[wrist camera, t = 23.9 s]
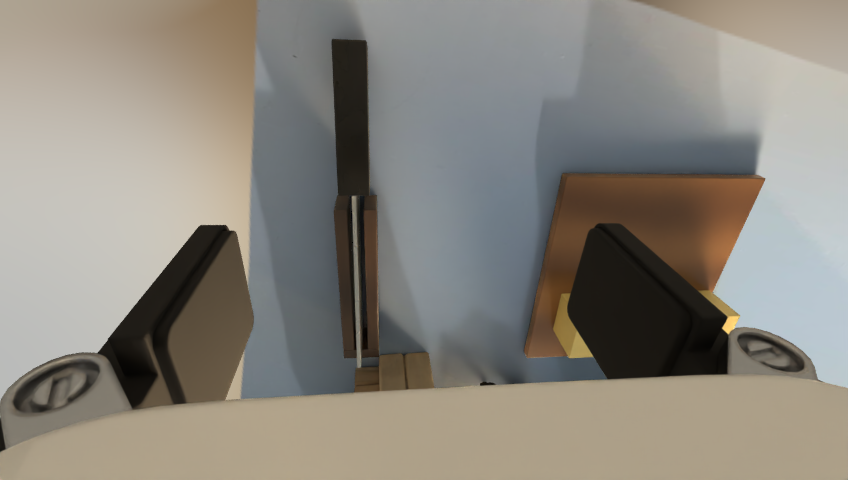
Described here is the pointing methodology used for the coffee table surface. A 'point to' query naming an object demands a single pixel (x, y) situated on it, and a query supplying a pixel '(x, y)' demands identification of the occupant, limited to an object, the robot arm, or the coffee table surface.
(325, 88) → the coffee table surface
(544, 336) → the board
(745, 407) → the robot arm
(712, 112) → the coffee table surface
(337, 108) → the knife
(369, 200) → the knife holder
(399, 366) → the block tower
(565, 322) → the butter slice
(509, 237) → the coffee table surface
